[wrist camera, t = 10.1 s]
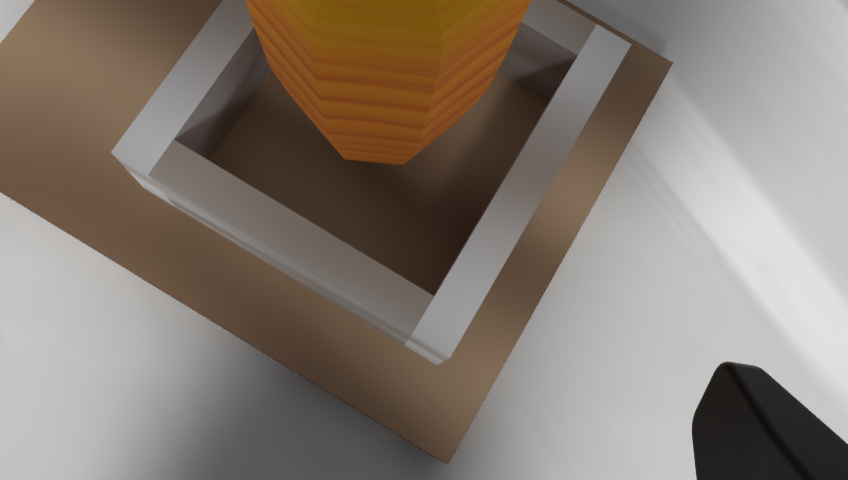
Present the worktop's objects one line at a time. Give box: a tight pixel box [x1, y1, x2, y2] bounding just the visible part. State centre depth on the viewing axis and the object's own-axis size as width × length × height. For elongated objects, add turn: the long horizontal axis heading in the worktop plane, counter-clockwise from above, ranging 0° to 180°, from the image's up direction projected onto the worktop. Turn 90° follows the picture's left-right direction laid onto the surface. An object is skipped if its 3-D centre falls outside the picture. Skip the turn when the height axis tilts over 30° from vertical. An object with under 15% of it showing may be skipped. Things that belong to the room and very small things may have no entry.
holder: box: [0, 0, 673, 464], centre depth 21 cm, size 13×16×4 cm
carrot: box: [245, 0, 531, 165], centre depth 15 cm, size 5×5×15 cm
